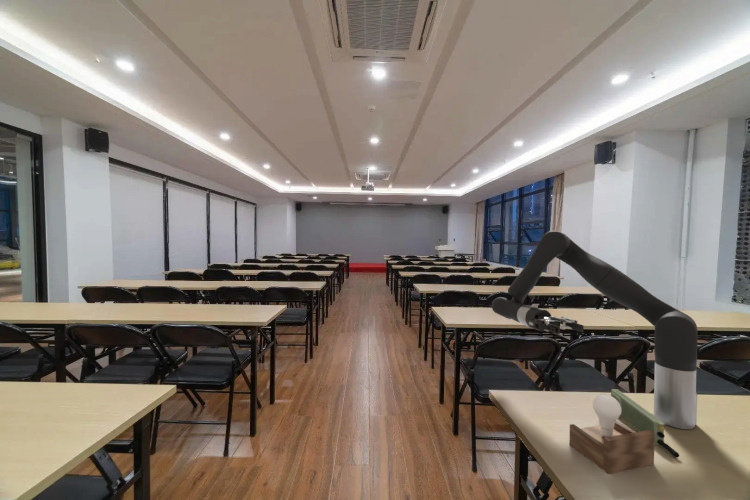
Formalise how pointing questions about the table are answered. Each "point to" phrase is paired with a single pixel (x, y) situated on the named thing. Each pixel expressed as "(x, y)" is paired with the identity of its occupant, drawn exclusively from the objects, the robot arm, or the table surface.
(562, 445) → the table surface
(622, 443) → the stand
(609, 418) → the lightbulb
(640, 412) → the handheld radio
